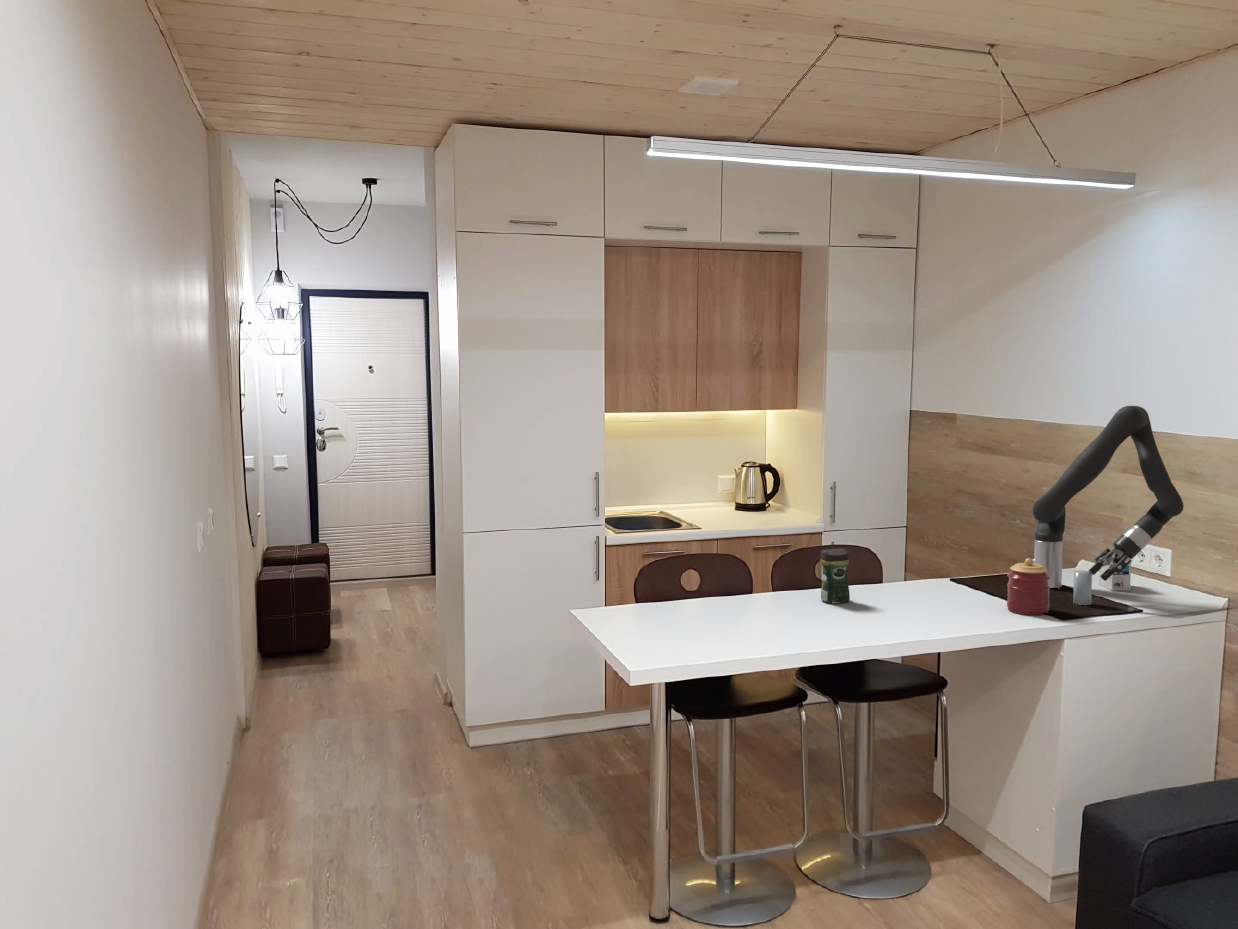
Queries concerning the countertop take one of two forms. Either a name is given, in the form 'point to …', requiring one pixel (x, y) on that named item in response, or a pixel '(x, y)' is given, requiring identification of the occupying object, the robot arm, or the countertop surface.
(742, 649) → the countertop surface
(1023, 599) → the canister
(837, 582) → the coffee jar
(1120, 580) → the light bulb box
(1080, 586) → the grey rounded bar
